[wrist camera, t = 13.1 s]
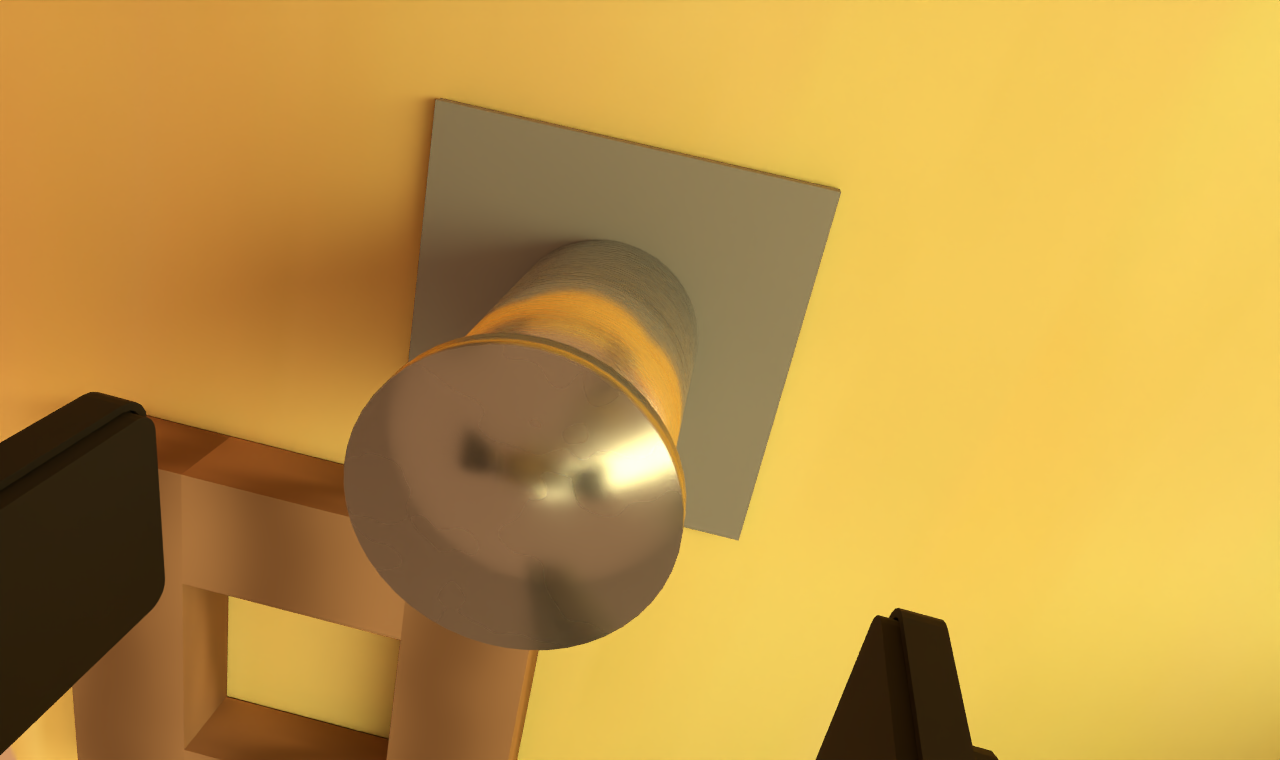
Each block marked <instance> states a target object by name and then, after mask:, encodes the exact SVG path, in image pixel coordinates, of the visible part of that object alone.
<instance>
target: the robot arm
mask: <svg viewBox="0 0 1280 760" xmlns="http://www.w3.org/2000/svg"><path fill="white" fill-rule="evenodd" d="M164 586H165V569H164V553H163V537H162V522H161V506H160V491H159V475H158V459H157V444H156V429H155V424H154V423H153V421H152V420H151V419H150V418H148V417H147V415H146V411H145V410H144V408H143V407H142V405H140V404H138V403H136V402H133V401H129V400H125V399H121V398H118V397H114V396H110V395H107V394H103V393H99V392H90V393H87V394H85V395H83V396H81V397H79V398H77V399H76V400H74V401H72V402H70V403H69V404H67V405H65V406H63V407H62V408H60V409H58V410H56V411H55V412H53V413H51V414H49V415H48V416H46V417H44V418H43V419H41V420H39V421H37V422H36V423H34V424H32V425H30V426H29V427H27V428H25V429H23V430H22V431H20V432H18V433H16V434H15V435H13V436H11V437H9V438H8V439H6V440H4V441H2V442H1V443H0V755H1V754H2V753H3V752H4V751H5V750H6V749H7V748H8V747H9V746H10V745H12V744H13V743H14V742H15V741H16V740H17V739H18V738H19V737H20V736H21V735H22V734H23V733H24V732H25V731H26V730H27V729H28V728H29V727H30V726H31V725H32V724H33V723H34V722H35V721H37V720H38V719H39V718H40V717H41V716H42V715H43V714H44V713H45V712H46V711H47V710H48V709H49V708H50V707H51V706H52V705H53V704H54V703H55V702H56V701H57V700H58V699H59V698H60V697H62V696H63V695H64V694H65V693H66V692H67V691H68V690H69V689H70V688H71V687H72V686H73V685H74V684H75V683H76V682H77V681H78V680H79V679H80V678H81V677H82V676H83V675H84V674H85V673H86V672H88V671H89V670H90V669H91V668H92V667H93V666H94V665H95V664H96V663H97V662H98V661H99V660H100V659H101V658H102V657H103V656H104V655H105V654H106V653H107V652H108V651H109V650H110V649H111V648H113V647H114V646H115V645H116V644H117V643H118V642H119V641H120V640H121V639H122V638H123V637H124V636H125V635H126V634H127V633H128V632H129V631H130V630H131V629H132V628H133V627H134V626H135V625H136V624H138V623H139V622H140V621H141V620H142V619H143V618H144V617H145V616H146V615H147V614H148V613H149V612H150V611H151V610H152V609H153V608H154V607H155V605H156V604H157V602H158V601H159V599H160V597H161V595H162V593H163V590H164ZM816 760H998V758H997V757H996V756H995V755H994V753H993V752H992V751H990V750H986V749H982V748H979V747H975V746H972V742H971V737H970V732H969V728H968V723H967V718H966V713H965V709H964V704H963V699H962V694H961V690H960V685H959V680H958V676H957V671H956V666H955V661H954V657H953V652H952V647H951V642H950V638H949V633H948V628H947V626H946V623H945V622H944V621H943V620H941V619H937V618H934V617H930V616H926V615H922V614H919V613H915V612H911V611H908V610H904V609H900V608H896V609H895V610H894V611H893V612H892V613H891V615H890V617H889V618H887V617H883V616H879V615H877V616H876V617H875V618H874V619H873V621H872V623H871V625H870V628H869V630H868V633H867V635H866V638H865V640H864V643H863V645H862V648H861V650H860V652H859V655H858V657H857V660H856V662H855V665H854V667H853V670H852V672H851V675H850V677H849V679H848V682H847V684H846V687H845V689H844V692H843V694H842V697H841V699H840V702H839V704H838V706H837V709H836V711H835V714H834V716H833V719H832V721H831V724H830V726H829V729H828V731H827V733H826V736H825V738H824V741H823V743H822V746H821V748H820V751H819V753H818V755H817V758H816Z"/></svg>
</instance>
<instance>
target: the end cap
mask: <svg viewBox="0 0 1280 760" xmlns="http://www.w3.org/2000/svg"><path fill="white" fill-rule="evenodd" d="M697 346H698V327H697V319H696V315H695V311H694V308H693V305H692V302H691V300H690V297H689V295H688V294H687V292H686V290H685V288H684V286H683V285H682V284H681V282H680V281H679V279H678V278H677V277H676V276H675V274H674V273H673V272H672V271H671V270H670V269H669V268H668V267H667V266H666V265H664V264H663V263H662V262H661V261H660V260H658V259H657V258H655V257H654V256H652V255H651V254H649V253H647V252H646V251H644V250H641V249H639V248H637V247H635V246H632V245H629V244H626V243H623V242H618V241H612V240H599V239H594V240H583V241H579V242H574V243H570V244H568V245H565V246H562V247H559V248H558V249H556V250H554V251H552V252H550V253H548V254H547V255H546V256H544V257H543V258H542V259H540V260H539V261H538V262H537V263H536V264H535V265H534V266H533V267H532V268H531V269H530V270H529V271H528V272H527V273H526V274H525V275H524V276H523V277H522V278H521V279H520V280H519V281H518V282H517V283H516V284H515V285H514V286H513V287H512V288H511V289H510V290H509V291H508V293H507V294H506V295H505V296H504V297H503V298H502V299H501V300H500V301H499V302H498V303H497V304H496V305H495V306H494V307H493V308H492V309H491V310H490V311H489V312H488V313H487V314H486V315H485V316H484V317H483V318H482V319H481V320H480V322H479V323H478V324H477V325H476V326H475V327H474V328H473V329H472V330H471V331H470V332H469V333H468V334H467V335H466V336H465V337H462V338H457V339H454V340H451V341H449V342H446V343H443V344H440V345H437V346H435V347H433V348H431V349H430V350H428V351H426V352H424V353H422V354H420V355H418V356H417V357H416V358H414V359H413V360H411V361H410V362H409V363H407V364H406V365H405V366H403V367H402V368H401V369H400V370H399V371H398V372H397V373H396V374H394V375H393V376H392V377H391V378H390V379H389V380H388V381H387V382H386V383H385V384H384V385H383V386H382V387H381V388H380V389H379V390H378V391H377V392H376V393H375V394H374V395H373V396H372V398H371V399H370V401H369V402H368V403H367V405H366V406H365V407H364V409H363V410H362V412H361V414H360V416H359V418H358V420H357V422H356V424H355V426H354V428H353V430H352V433H351V436H350V439H349V442H348V445H347V450H346V456H345V462H344V492H345V499H346V506H347V510H348V513H349V517H350V521H351V524H352V527H353V529H354V532H355V534H356V536H357V539H358V541H359V543H360V545H361V547H362V549H363V550H364V552H365V554H366V556H367V558H368V559H369V561H370V562H371V564H372V565H373V566H374V568H375V569H376V571H377V572H378V573H379V575H380V576H381V577H382V578H383V579H384V581H385V582H386V583H387V584H388V585H389V586H390V587H391V588H392V589H393V590H394V592H395V593H397V594H398V595H399V596H400V597H401V598H402V599H403V600H405V601H406V602H407V603H408V604H409V605H410V606H411V607H413V608H414V609H416V610H417V611H418V612H420V613H421V614H423V615H424V616H425V617H427V618H428V619H430V620H432V621H434V622H435V623H437V624H439V625H441V626H442V627H444V628H446V629H448V630H450V631H453V632H455V633H457V634H459V635H462V636H464V637H467V638H470V639H473V640H476V641H479V642H482V643H485V644H490V645H494V646H499V647H504V648H511V649H521V650H552V649H560V648H568V647H572V646H576V645H580V644H585V643H588V642H591V641H593V640H596V639H599V638H601V637H604V636H606V635H608V634H610V633H612V632H614V631H616V630H617V629H619V628H621V627H623V626H624V625H626V624H627V623H628V622H630V621H631V620H632V619H634V618H635V617H637V616H638V615H639V614H640V613H641V612H642V611H643V610H644V609H645V608H646V607H647V606H648V605H649V604H650V603H651V602H652V601H653V600H654V598H655V597H656V596H657V595H658V593H659V592H660V591H661V589H662V588H663V586H664V585H665V583H666V581H667V579H668V577H669V575H670V574H671V572H672V570H673V567H674V564H675V561H676V558H677V556H678V553H679V548H680V543H681V538H682V533H683V527H684V520H685V514H686V488H685V479H684V473H683V469H682V465H681V461H680V457H679V454H678V451H677V449H676V446H677V441H678V437H679V432H680V427H681V423H682V418H683V413H684V409H685V404H686V399H687V394H688V390H689V385H690V380H691V376H692V371H693V366H694V361H695V357H696V351H697Z"/></svg>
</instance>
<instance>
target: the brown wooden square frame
mask: <svg viewBox="0 0 1280 760" xmlns="http://www.w3.org/2000/svg"><path fill="white" fill-rule="evenodd" d="M147 417H148V418H150V419H151V420H152V421H153V423H154V424H155V429H156V444H157V459H158V475H159V491H160V506H161V522H162V537H163V553H164V569H165V586H164V590H163V593H162V595H161V597H160V599H159V601H158V602H157V604H156V605H155V607H154V608H153V609H152V610H151V611H150V612H149V613H148V614H147V615H146V616H145V617H144V618H143V619H142V620H141V621H140V622H139V623H138V624H136V625H135V626H134V627H133V628H132V629H131V630H130V631H129V632H128V633H127V634H126V635H125V636H124V637H123V638H122V639H121V640H120V641H119V642H118V643H117V644H116V645H115V646H114V647H113V648H111V649H110V650H109V651H108V652H107V653H106V654H105V655H104V656H103V657H102V658H101V659H100V660H99V661H98V662H97V663H96V664H95V665H94V666H93V667H92V668H91V669H90V670H89V671H88V672H86V673H85V674H84V675H83V676H82V677H81V678H80V679H79V680H78V681H77V682H76V683H75V684H74V685H73V686H72V687H73V700H74V714H75V727H76V740H77V753H78V760H517V757H518V752H519V747H520V742H521V737H522V732H523V727H524V722H525V717H526V712H527V707H528V701H529V696H530V691H531V686H532V681H533V676H534V671H535V666H536V661H537V656H538V651H539V650H521V649H511V648H504V647H499V646H494V645H490V644H485V643H482V642H479V641H476V640H473V639H470V638H467V637H464V636H462V635H459V634H457V633H455V632H453V631H450V630H448V629H446V628H444V627H442V626H441V625H439V624H437V623H435V622H434V621H432V620H430V619H428V618H427V617H425V616H424V615H423V614H421V613H420V612H418V611H417V610H416V609H414V608H413V607H411V606H410V605H409V604H408V603H407V602H406V601H405V600H403V599H402V598H401V597H400V596H399V595H398V594H397V593H395V592H394V590H393V589H392V588H391V587H390V586H389V585H388V584H387V583H386V582H385V581H384V579H383V578H382V577H381V576H380V575H379V573H378V572H377V571H376V569H375V568H374V566H373V565H372V564H371V562H370V561H369V559H368V558H367V556H366V554H365V552H364V550H363V549H362V547H361V545H360V543H359V541H358V539H357V536H356V534H355V532H354V529H353V527H352V524H351V521H350V517H349V513H348V510H347V506H346V499H345V492H344V465H342V464H338V463H334V462H330V461H326V460H322V459H318V458H314V457H310V456H306V455H302V454H298V453H294V452H290V451H286V450H282V449H278V448H274V447H270V446H266V445H262V444H258V443H254V442H250V441H246V440H242V439H238V438H234V437H230V436H226V435H222V434H218V433H214V432H210V431H206V430H202V429H198V428H194V427H190V426H186V425H182V424H178V423H174V422H170V421H166V420H162V419H158V418H154V417H150V416H147ZM228 596H232V597H236V598H240V599H244V600H248V601H251V602H255V603H259V604H263V605H267V606H271V607H275V608H279V609H282V610H286V611H290V612H294V613H298V614H302V615H306V616H310V617H313V618H317V619H321V620H325V621H329V622H333V623H337V624H341V625H344V626H348V627H352V628H356V629H360V630H364V631H368V632H371V633H375V634H379V635H383V636H387V637H391V638H395V639H399V640H400V648H399V657H398V666H397V674H396V683H395V692H394V700H393V709H392V718H391V726H390V735H389V739H385V738H381V737H377V736H373V735H370V734H366V733H362V732H358V731H354V730H351V729H347V728H343V727H339V726H335V725H332V724H328V723H324V722H320V721H316V720H313V719H309V718H305V717H301V716H298V715H294V714H290V713H286V712H282V711H279V710H275V709H271V708H267V707H263V706H260V705H256V704H252V703H248V702H244V701H241V700H237V699H233V698H229V697H227V637H228Z"/></svg>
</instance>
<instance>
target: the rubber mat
mask: <svg viewBox="0 0 1280 760" xmlns="http://www.w3.org/2000/svg"><path fill="white" fill-rule="evenodd" d="M840 194H841V191H840V189H836V188H831V187H827V186H823V185H818V184H814V183H809V182H805V181H801V180H796V179H792V178H788V177H783V176H779V175H775V174H770V173H766V172H761V171H757V170H753V169H748V168H744V167H740V166H735V165H731V164H726V163H722V162H718V161H713V160H709V159H705V158H700V157H696V156H691V155H687V154H683V153H678V152H674V151H670V150H665V149H661V148H657V147H652V146H648V145H643V144H639V143H635V142H630V141H626V140H622V139H617V138H613V137H608V136H604V135H600V134H595V133H591V132H587V131H582V130H578V129H573V128H569V127H565V126H560V125H556V124H552V123H547V122H543V121H539V120H534V119H530V118H525V117H521V116H517V115H512V114H508V113H504V112H499V111H495V110H490V109H486V108H482V107H477V106H473V105H469V104H464V103H460V102H455V101H451V100H447V99H442V98H440V99H436V100H435V110H434V119H433V129H432V139H431V148H430V158H429V168H428V177H427V187H426V196H425V206H424V216H423V225H422V235H421V245H420V254H419V264H418V274H417V283H416V293H415V303H414V312H413V322H412V332H411V341H410V351H409V361H408V363H409V362H410V361H411V360H413V359H414V358H416V357H417V356H418V355H420V354H422V353H424V352H426V351H428V350H430V349H431V348H433V347H435V346H437V345H440V344H443V343H446V342H449V341H451V340H454V339H457V338H462V337H465V336H466V335H467V334H468V333H469V332H470V331H471V330H472V329H473V328H474V327H475V326H476V325H477V324H478V323H479V322H480V320H481V319H482V318H483V317H484V316H485V315H486V314H487V313H488V312H489V311H490V310H491V309H492V308H493V307H494V306H495V305H496V304H497V303H498V302H499V301H500V300H501V299H502V298H503V297H504V296H505V295H506V294H507V293H508V291H509V290H510V289H511V288H512V287H513V286H514V285H515V284H516V283H517V282H518V281H519V280H520V279H521V278H522V277H523V276H524V275H525V274H526V273H527V272H528V271H529V270H530V269H531V268H532V267H533V266H534V265H535V264H536V263H537V262H538V261H539V260H540V259H542V258H543V257H544V256H546V255H547V254H548V253H550V252H552V251H554V250H556V249H558V248H559V247H562V246H565V245H568V244H570V243H574V242H579V241H583V240H594V239H599V240H612V241H618V242H623V243H626V244H629V245H632V246H635V247H637V248H639V249H641V250H644V251H646V252H647V253H649V254H651V255H652V256H654V257H655V258H657V259H658V260H660V261H661V262H662V263H663V264H664V265H666V266H667V267H668V268H669V269H670V270H671V271H672V272H673V273H674V274H675V276H676V277H677V278H678V279H679V281H680V282H681V284H682V285H683V286H684V288H685V290H686V292H687V294H688V295H689V297H690V300H691V302H692V305H693V308H694V311H695V315H696V319H697V327H698V346H697V351H696V357H695V361H694V366H693V371H692V376H691V380H690V385H689V390H688V394H687V399H686V404H685V409H684V413H683V418H682V423H681V427H680V432H679V437H678V441H677V446H676V449H677V451H678V454H679V457H680V461H681V465H682V469H683V473H684V479H685V488H686V514H685V520H684V527H686V528H690V529H694V530H698V531H702V532H706V533H710V534H714V535H718V536H722V537H726V538H730V539H735V540H739V537H740V534H741V530H742V527H743V523H744V520H745V517H746V513H747V510H748V506H749V503H750V500H751V496H752V493H753V489H754V486H755V483H756V479H757V476H758V473H759V469H760V466H761V462H762V459H763V456H764V452H765V449H766V445H767V442H768V439H769V435H770V432H771V428H772V425H773V422H774V418H775V415H776V411H777V408H778V405H779V401H780V398H781V394H782V391H783V388H784V384H785V381H786V377H787V374H788V371H789V367H790V364H791V360H792V357H793V354H794V350H795V347H796V343H797V340H798V337H799V333H800V330H801V326H802V323H803V320H804V316H805V313H806V309H807V306H808V303H809V299H810V296H811V292H812V289H813V286H814V282H815V279H816V275H817V272H818V269H819V265H820V262H821V259H822V255H823V252H824V248H825V245H826V242H827V238H828V235H829V231H830V228H831V225H832V221H833V218H834V214H835V211H836V208H837V204H838V201H839V197H840Z"/></svg>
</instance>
